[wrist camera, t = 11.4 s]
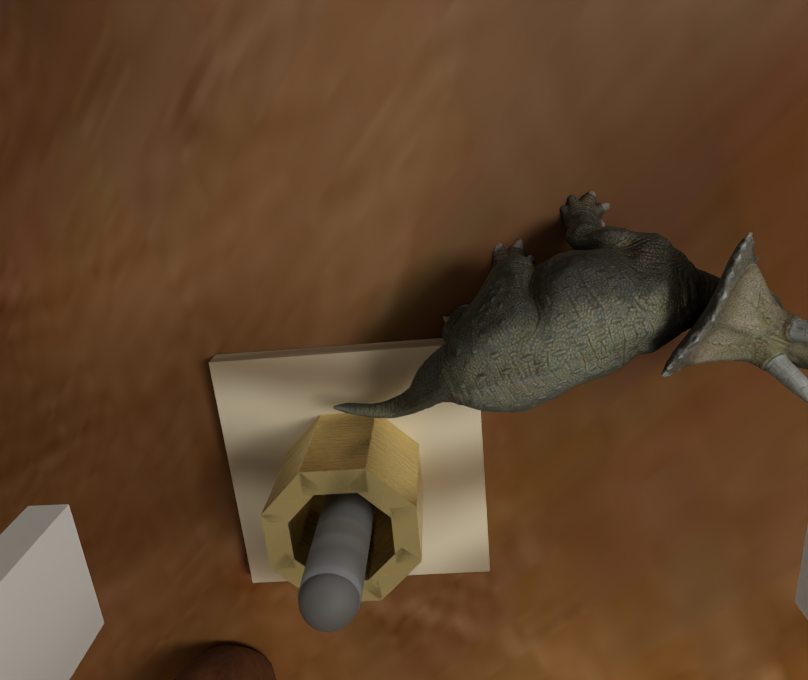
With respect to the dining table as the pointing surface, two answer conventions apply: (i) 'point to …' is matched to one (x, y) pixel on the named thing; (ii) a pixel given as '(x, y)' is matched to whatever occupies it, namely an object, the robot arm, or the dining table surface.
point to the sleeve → (349, 473)
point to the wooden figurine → (228, 665)
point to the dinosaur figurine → (599, 321)
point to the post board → (315, 390)
